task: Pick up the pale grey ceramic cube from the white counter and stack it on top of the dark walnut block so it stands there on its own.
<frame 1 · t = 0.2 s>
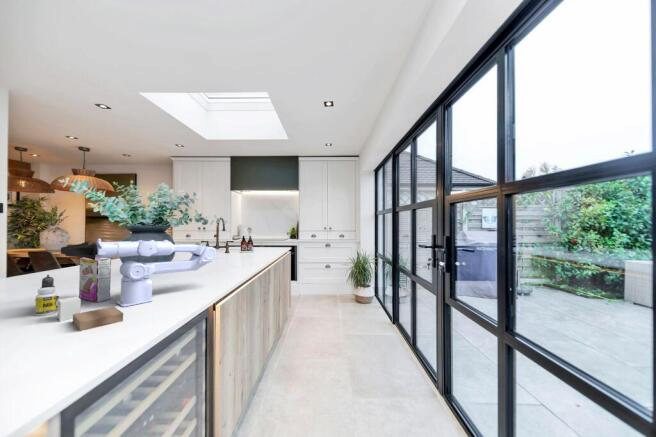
hand: (63, 251, 86), 21 cm above the countertop, tool horizontal, fingers open, 7 cm apart
salt shaker: (47, 308, 93), on the countertop
grey ceramic cube: (68, 318, 85), on the countertop
walnut block: (98, 323, 82), on the countertop
supplement bottle: (45, 314, 88), on the countertop
candy bar box: (94, 299, 104), on the countertop
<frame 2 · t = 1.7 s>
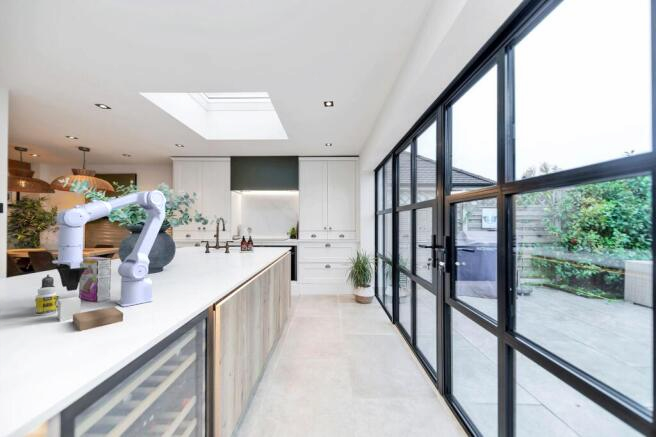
hand: (69, 288, 85), 10 cm above the countertop, tool pointing down, fingers open, 7 cm apart
nothing on the countertop moved.
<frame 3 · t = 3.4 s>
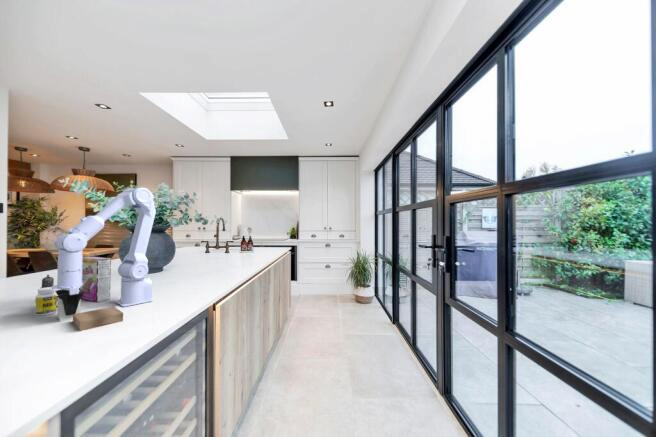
hand: (69, 312, 85), 2 cm above the countertop, tool pointing down, fingers closed on grey ceramic cube, 5 cm apart
grey ceramic cube: (68, 317, 85), on the countertop, touching gripper
everything else where it was.
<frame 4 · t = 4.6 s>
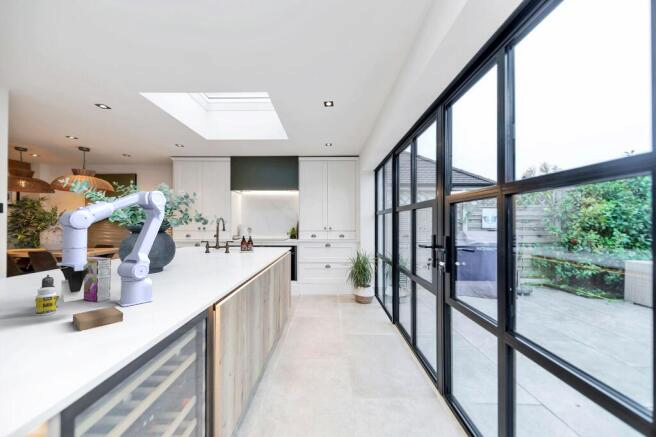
hand: (73, 290, 85), 9 cm above the countertop, tool pointing down, fingers closed on grey ceramic cube, 5 cm apart
grey ceramic cube: (72, 299, 84), point 6 cm above the countertop, touching gripper
everything else where it was.
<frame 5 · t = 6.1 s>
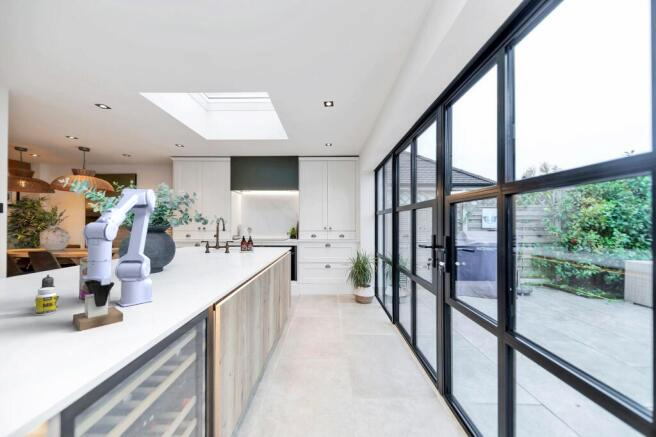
hand: (98, 304, 82), 5 cm above the countertop, tool pointing down, fingers closed on grey ceramic cube, 5 cm apart
grey ceramic cube: (96, 314, 82), point 2 cm above the countertop, touching gripper
everything else where it was.
when the fingers open (5 cm above the countertop, at t = 6.9 s): grey ceramic cube stays where it is, point 2 cm above the countertop.
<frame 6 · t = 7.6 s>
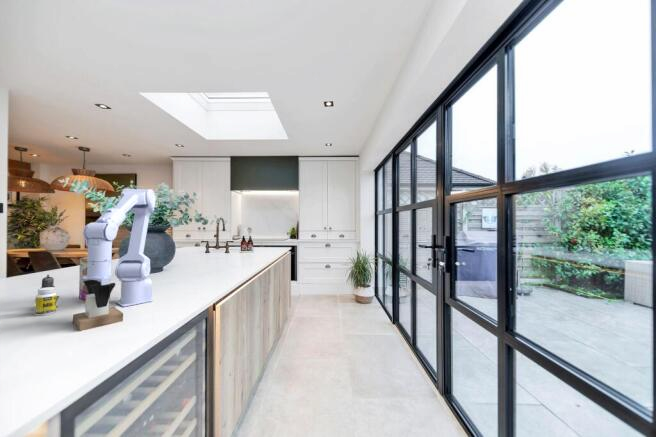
hand: (98, 304, 82), 5 cm above the countertop, tool pointing down, fingers open, 7 cm apart
grey ceramic cube: (97, 314, 82), point 2 cm above the countertop
everything else where it was.
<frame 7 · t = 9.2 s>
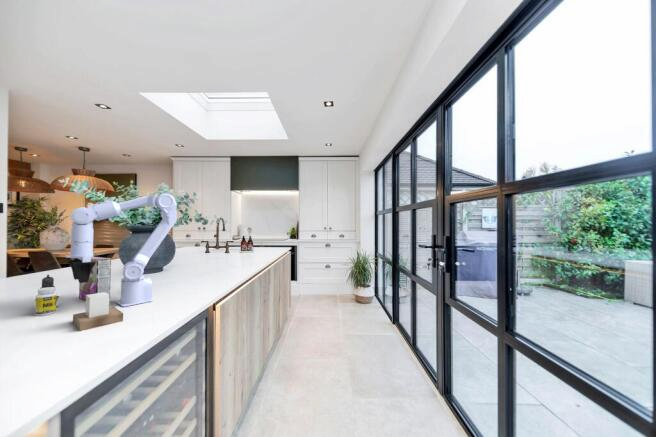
hand: (80, 280, 92), 10 cm above the countertop, tool pointing down, fingers open, 7 cm apart
grey ceramic cube: (97, 314, 82), point 2 cm above the countertop, touching walnut block
walnut block: (98, 323, 82), on the countertop, touching grey ceramic cube
everything else where it was.
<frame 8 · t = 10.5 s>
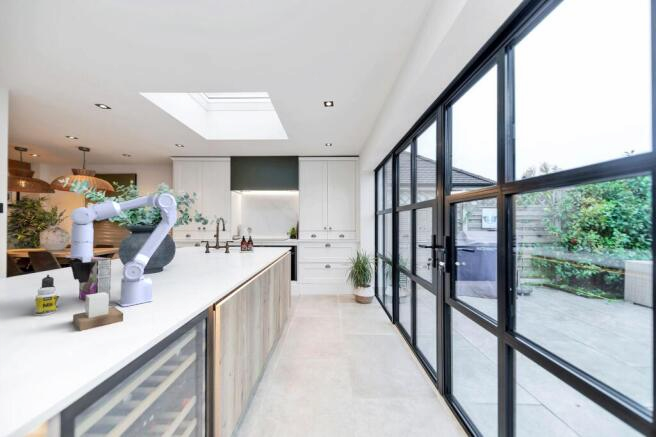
hand: (80, 280, 92), 10 cm above the countertop, tool pointing down, fingers open, 7 cm apart
nothing on the countertop moved.
at the end: grey ceramic cube inside the target area on the walnut block (0.4 cm from its centre), point 3.0 cm above the walnut block's base; grey ceramic cube tilted 0°; the gripper is holding nothing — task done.
